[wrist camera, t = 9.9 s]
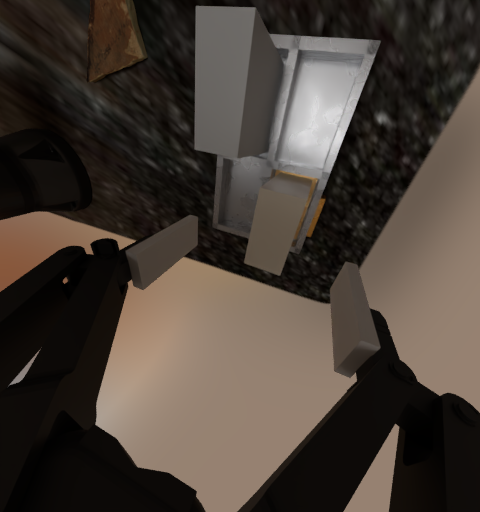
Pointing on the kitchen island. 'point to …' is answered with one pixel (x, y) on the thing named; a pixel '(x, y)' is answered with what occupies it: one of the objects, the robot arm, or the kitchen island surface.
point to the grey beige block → (276, 221)
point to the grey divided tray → (298, 129)
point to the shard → (113, 38)
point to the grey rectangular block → (234, 81)
